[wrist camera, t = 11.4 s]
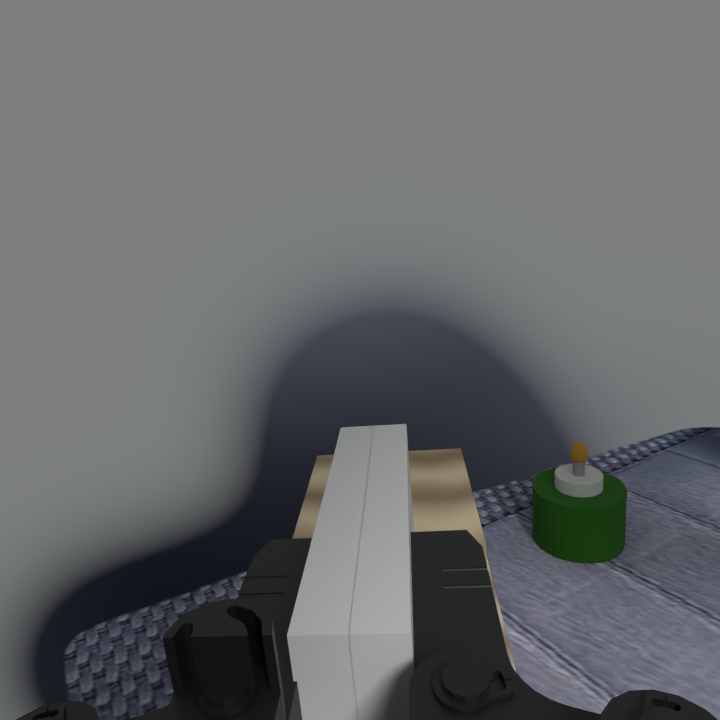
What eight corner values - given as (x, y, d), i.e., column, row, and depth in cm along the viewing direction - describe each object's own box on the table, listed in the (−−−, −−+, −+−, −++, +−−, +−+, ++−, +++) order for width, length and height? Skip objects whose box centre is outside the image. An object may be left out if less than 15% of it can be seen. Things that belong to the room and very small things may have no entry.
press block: (311, 576, 53) (296, 451, 50) (487, 570, 52) (483, 442, 49) (259, 807, 33) (228, 623, 30) (545, 806, 32) (545, 614, 29)
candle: (539, 510, 61) (538, 422, 59) (624, 522, 58) (628, 429, 55) (526, 554, 54) (525, 456, 51) (623, 571, 51) (628, 466, 48)
